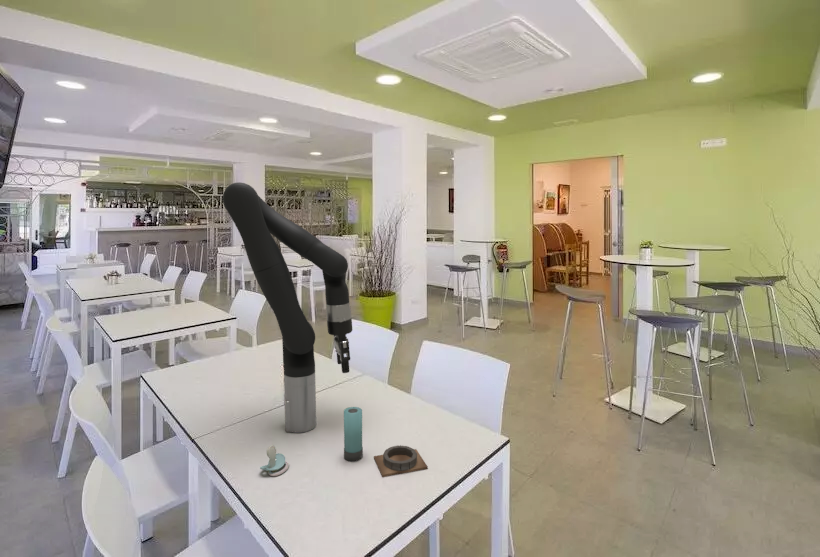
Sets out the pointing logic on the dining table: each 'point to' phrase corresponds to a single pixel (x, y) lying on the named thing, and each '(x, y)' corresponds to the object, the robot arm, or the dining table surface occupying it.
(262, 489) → the dining table surface
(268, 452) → the pacifier
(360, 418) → the teal cylinder
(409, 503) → the dining table surface
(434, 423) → the dining table surface
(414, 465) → the socket
